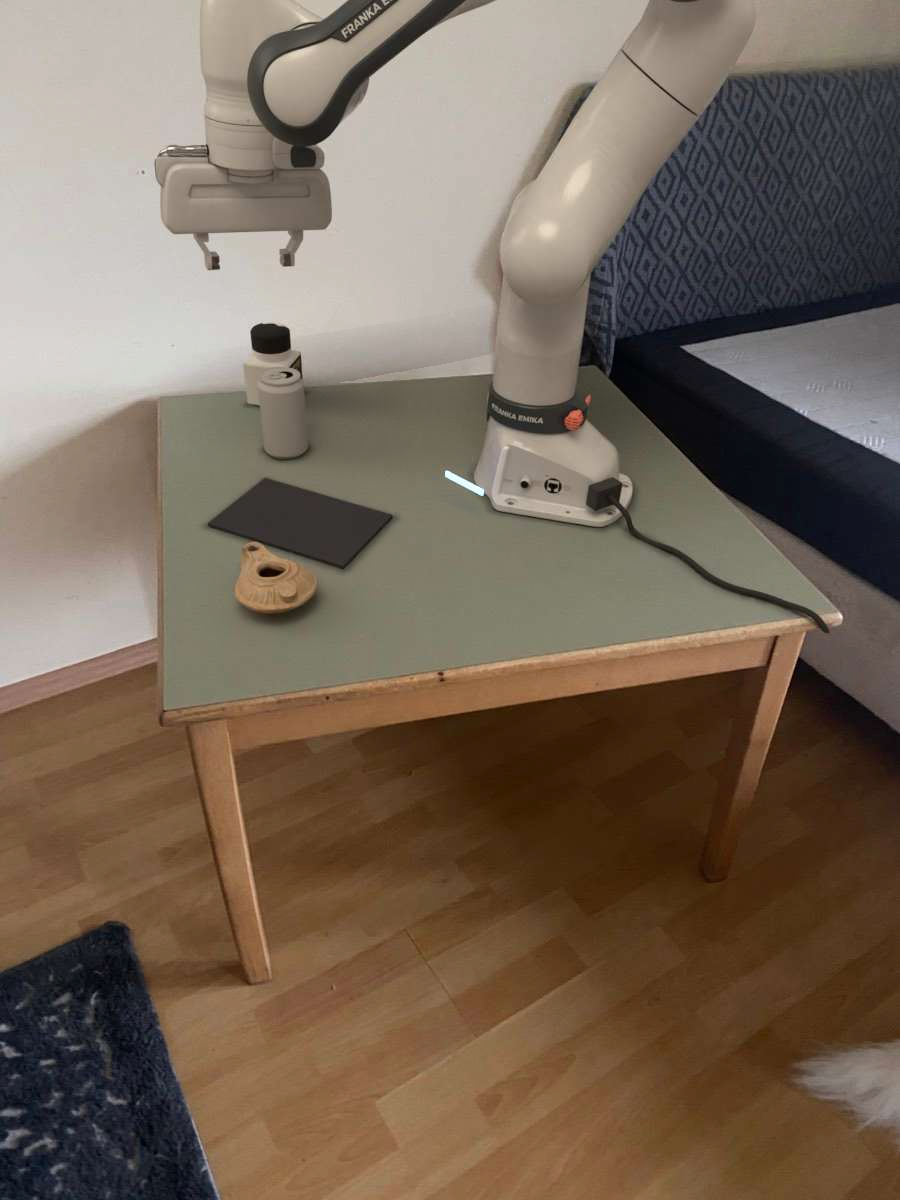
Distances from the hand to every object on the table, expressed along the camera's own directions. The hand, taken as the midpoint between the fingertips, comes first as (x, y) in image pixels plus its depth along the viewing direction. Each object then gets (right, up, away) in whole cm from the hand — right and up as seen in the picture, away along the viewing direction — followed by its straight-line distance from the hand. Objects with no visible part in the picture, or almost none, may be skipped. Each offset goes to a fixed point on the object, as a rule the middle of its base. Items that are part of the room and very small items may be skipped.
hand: (250, 267), depth 109 cm
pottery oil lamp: (+4, -41, -7) cm, 42 cm away
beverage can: (+1, -20, +19) cm, 28 cm away
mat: (+6, -32, +5) cm, 32 cm away
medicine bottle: (-3, -9, +33) cm, 34 cm away
